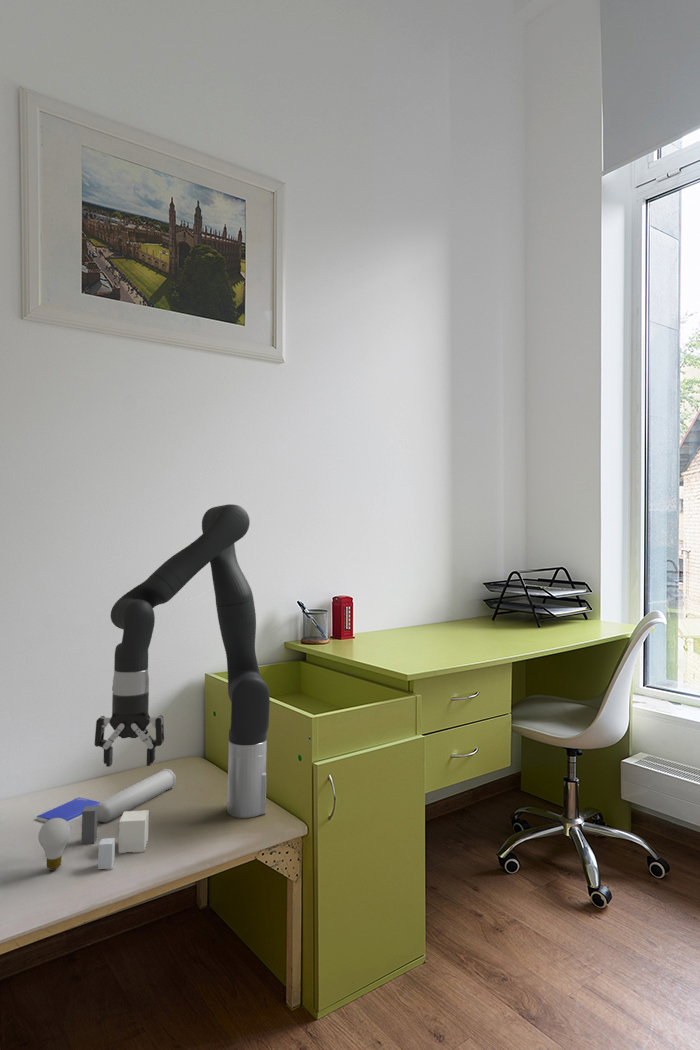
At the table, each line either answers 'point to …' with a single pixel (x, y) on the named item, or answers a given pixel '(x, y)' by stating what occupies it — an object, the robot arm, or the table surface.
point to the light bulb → (54, 840)
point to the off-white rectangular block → (133, 831)
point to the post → (89, 824)
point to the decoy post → (106, 853)
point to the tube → (135, 795)
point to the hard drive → (68, 810)
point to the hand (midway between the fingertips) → (129, 765)
